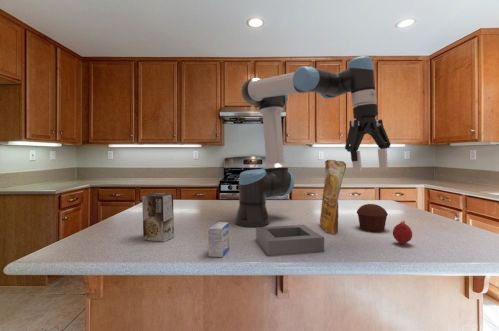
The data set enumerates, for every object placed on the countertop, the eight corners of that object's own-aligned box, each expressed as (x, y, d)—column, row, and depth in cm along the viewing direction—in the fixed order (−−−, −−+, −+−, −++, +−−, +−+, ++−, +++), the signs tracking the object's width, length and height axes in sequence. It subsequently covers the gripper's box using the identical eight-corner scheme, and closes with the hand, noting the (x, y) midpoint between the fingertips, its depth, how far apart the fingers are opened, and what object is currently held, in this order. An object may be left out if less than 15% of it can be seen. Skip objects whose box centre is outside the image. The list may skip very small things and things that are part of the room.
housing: (256, 239, 98) (256, 227, 98) (303, 236, 102) (303, 224, 102) (268, 256, 83) (268, 241, 82) (324, 251, 86) (324, 237, 86)
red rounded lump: (411, 248, 89) (412, 223, 89) (391, 245, 92) (392, 221, 92) (412, 243, 94) (412, 220, 94) (393, 240, 97) (393, 218, 97)
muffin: (392, 229, 112) (392, 204, 111) (381, 235, 104) (382, 208, 104) (362, 224, 120) (363, 201, 120) (351, 229, 113) (351, 204, 112)
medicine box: (222, 258, 81) (222, 228, 81) (208, 256, 82) (207, 228, 82) (229, 249, 89) (229, 222, 89) (216, 248, 90) (216, 221, 90)
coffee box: (174, 237, 102) (174, 193, 101) (163, 242, 96) (163, 196, 95) (154, 234, 105) (153, 192, 104) (142, 239, 99) (141, 194, 98)
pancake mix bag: (332, 223, 122) (332, 159, 121) (346, 235, 103) (347, 160, 102) (316, 223, 122) (317, 159, 121) (328, 235, 103) (329, 160, 102)
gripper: (348, 101, 82) (355, 173, 82) (397, 103, 94) (404, 165, 94) (329, 107, 88) (335, 173, 88) (377, 108, 101) (383, 166, 101)
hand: (371, 169), depth 91 cm, fingers open, 13 cm apart
